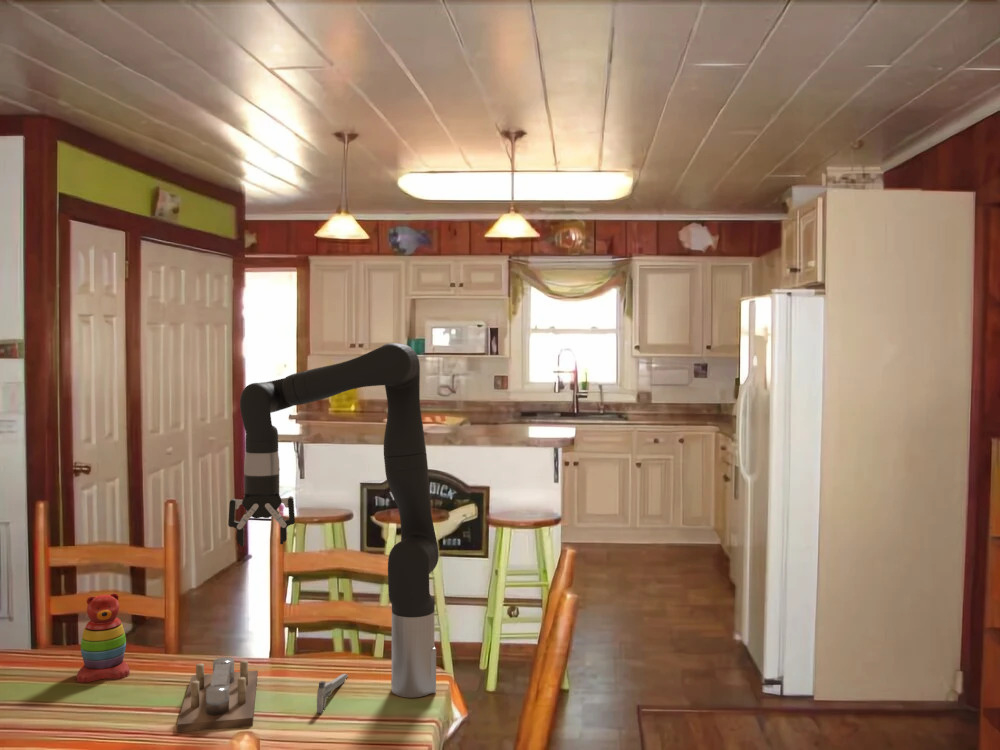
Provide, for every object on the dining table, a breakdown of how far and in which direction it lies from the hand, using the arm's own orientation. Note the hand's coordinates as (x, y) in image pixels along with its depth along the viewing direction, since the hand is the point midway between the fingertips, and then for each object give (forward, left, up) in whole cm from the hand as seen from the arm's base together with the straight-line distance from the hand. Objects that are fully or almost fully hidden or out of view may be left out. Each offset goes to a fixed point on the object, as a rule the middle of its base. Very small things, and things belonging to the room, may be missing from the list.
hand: (262, 544), depth 195 cm
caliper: (-15, +13, -31) cm, 36 cm away
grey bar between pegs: (+8, +12, -29) cm, 32 cm away
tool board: (+8, +12, -30) cm, 33 cm away
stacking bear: (+35, -11, -30) cm, 48 cm away
